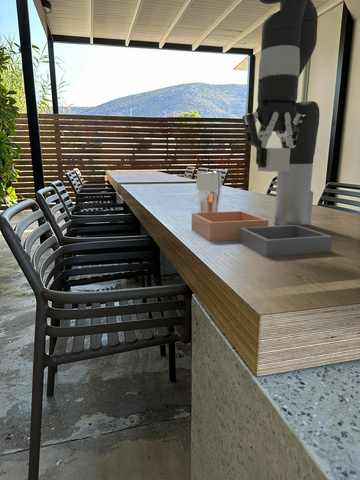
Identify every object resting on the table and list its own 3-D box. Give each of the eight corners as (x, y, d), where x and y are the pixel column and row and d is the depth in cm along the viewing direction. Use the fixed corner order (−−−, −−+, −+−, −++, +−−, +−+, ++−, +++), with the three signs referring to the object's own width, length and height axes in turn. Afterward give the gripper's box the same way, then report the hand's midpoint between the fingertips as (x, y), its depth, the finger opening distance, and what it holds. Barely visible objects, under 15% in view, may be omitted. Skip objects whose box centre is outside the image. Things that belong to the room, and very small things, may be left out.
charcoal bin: (294, 241, 77) (296, 224, 76) (330, 256, 65) (332, 236, 64) (238, 245, 73) (239, 227, 72) (265, 261, 62) (267, 240, 61)
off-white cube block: (276, 170, 71) (278, 148, 70) (288, 171, 67) (290, 148, 66) (257, 170, 70) (258, 148, 69) (268, 171, 66) (270, 148, 65)
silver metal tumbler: (219, 228, 91) (220, 172, 87) (194, 227, 92) (194, 172, 89) (221, 224, 98) (223, 171, 94) (197, 223, 99) (198, 171, 95)
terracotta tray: (241, 229, 90) (241, 211, 89) (266, 241, 77) (268, 220, 76) (191, 232, 87) (191, 213, 86) (209, 245, 74) (210, 222, 72)
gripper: (298, 82, 70) (292, 166, 74) (236, 79, 66) (233, 167, 70) (322, 74, 63) (314, 167, 67) (254, 69, 59) (250, 168, 63)
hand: (272, 166), depth 69 cm, fingers closed on off-white cube block, 4 cm apart
